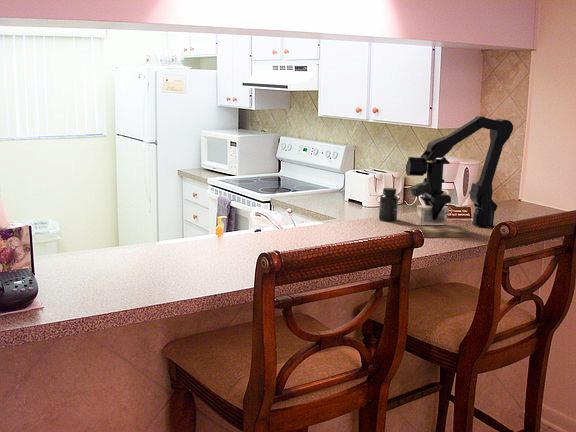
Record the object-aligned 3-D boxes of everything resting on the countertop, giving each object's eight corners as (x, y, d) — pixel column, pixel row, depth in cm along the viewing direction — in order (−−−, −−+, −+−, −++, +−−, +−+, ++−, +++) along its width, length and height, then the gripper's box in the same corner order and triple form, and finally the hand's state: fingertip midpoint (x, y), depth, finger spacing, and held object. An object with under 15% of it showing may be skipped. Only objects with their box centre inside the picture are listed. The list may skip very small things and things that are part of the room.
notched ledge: (458, 230, 242) (458, 223, 241) (470, 236, 232) (470, 229, 232) (410, 230, 239) (410, 223, 238) (420, 237, 229) (420, 230, 229)
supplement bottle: (398, 221, 253) (400, 190, 251) (379, 221, 253) (381, 189, 251) (395, 218, 260) (397, 187, 258) (377, 217, 260) (379, 186, 258)
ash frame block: (441, 221, 251) (442, 205, 250) (446, 223, 247) (448, 207, 246) (416, 221, 250) (417, 205, 248) (420, 223, 245) (421, 207, 244)
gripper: (404, 172, 252) (402, 213, 256) (422, 179, 234) (419, 223, 238) (433, 172, 254) (430, 213, 257) (453, 179, 236) (449, 223, 239)
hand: (431, 218), depth 248 cm, fingers closed on ash frame block, 5 cm apart
